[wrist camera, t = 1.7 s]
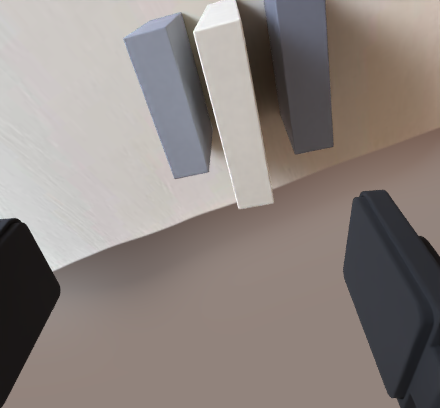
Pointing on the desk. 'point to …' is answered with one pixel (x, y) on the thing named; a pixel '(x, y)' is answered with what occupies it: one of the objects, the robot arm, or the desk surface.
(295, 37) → the grey books
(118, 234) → the desk surface
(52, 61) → the desk surface
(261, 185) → the thin book
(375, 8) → the desk surface
